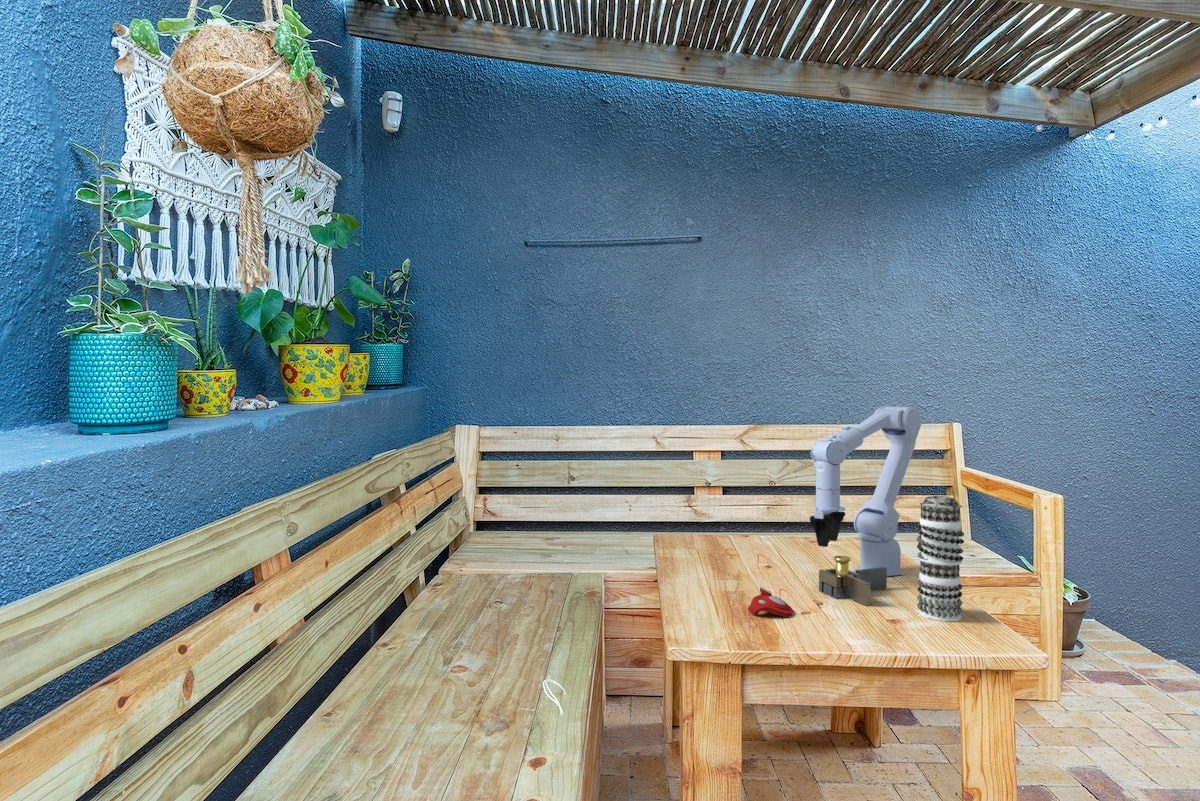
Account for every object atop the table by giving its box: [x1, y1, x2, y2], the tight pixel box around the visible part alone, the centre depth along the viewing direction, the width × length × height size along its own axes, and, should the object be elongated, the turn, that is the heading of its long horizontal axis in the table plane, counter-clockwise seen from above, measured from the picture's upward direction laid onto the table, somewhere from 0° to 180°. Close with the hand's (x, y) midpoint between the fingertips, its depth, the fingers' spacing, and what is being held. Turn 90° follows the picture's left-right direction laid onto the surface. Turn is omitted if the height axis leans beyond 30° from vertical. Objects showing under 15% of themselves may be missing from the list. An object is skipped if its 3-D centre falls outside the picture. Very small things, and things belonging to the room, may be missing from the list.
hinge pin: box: [833, 555, 851, 576], centre depth 168 cm, size 4×4×9 cm
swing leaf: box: [818, 567, 871, 606], centre depth 165 cm, size 13×7×5 cm, turn 19°
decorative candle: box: [915, 495, 965, 622], centre depth 152 cm, size 9×9×25 cm
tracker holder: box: [747, 586, 794, 618], centre depth 156 cm, size 12×4×10 cm
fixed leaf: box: [818, 567, 888, 600], centre depth 170 cm, size 16×7×5 cm, turn 109°
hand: (827, 543), depth 179 cm, fingers open, 7 cm apart
